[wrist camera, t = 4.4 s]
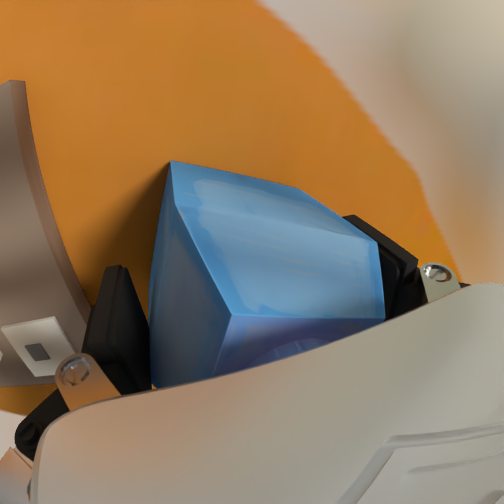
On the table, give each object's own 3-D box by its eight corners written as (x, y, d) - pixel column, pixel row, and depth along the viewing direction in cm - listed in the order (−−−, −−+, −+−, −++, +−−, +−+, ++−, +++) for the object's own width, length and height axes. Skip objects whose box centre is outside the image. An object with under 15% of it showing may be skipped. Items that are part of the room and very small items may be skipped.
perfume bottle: (298, 188, 14) (516, 361, 4) (262, 295, 16) (373, 497, 6) (170, 160, 12) (227, 467, 2) (149, 284, 14) (173, 546, 4)
